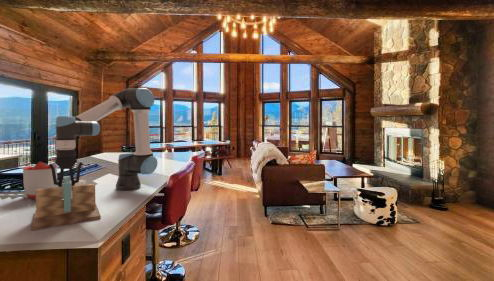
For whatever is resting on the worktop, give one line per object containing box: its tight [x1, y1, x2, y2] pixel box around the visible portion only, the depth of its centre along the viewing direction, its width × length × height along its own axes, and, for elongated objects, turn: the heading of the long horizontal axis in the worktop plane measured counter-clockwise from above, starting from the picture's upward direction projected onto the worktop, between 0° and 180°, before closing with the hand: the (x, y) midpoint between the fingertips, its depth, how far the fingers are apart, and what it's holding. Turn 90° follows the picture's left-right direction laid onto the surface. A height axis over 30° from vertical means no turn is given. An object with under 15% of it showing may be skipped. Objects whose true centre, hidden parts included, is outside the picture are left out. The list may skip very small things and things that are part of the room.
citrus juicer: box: [22, 161, 58, 200], centre depth 149 cm, size 16×17×20 cm
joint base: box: [30, 183, 102, 231], centre depth 119 cm, size 24×24×14 cm
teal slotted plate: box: [62, 175, 71, 212], centre depth 119 cm, size 2×20×12 cm, turn 35°
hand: (66, 198), depth 124 cm, fingers closed on teal slotted plate, 2 cm apart
